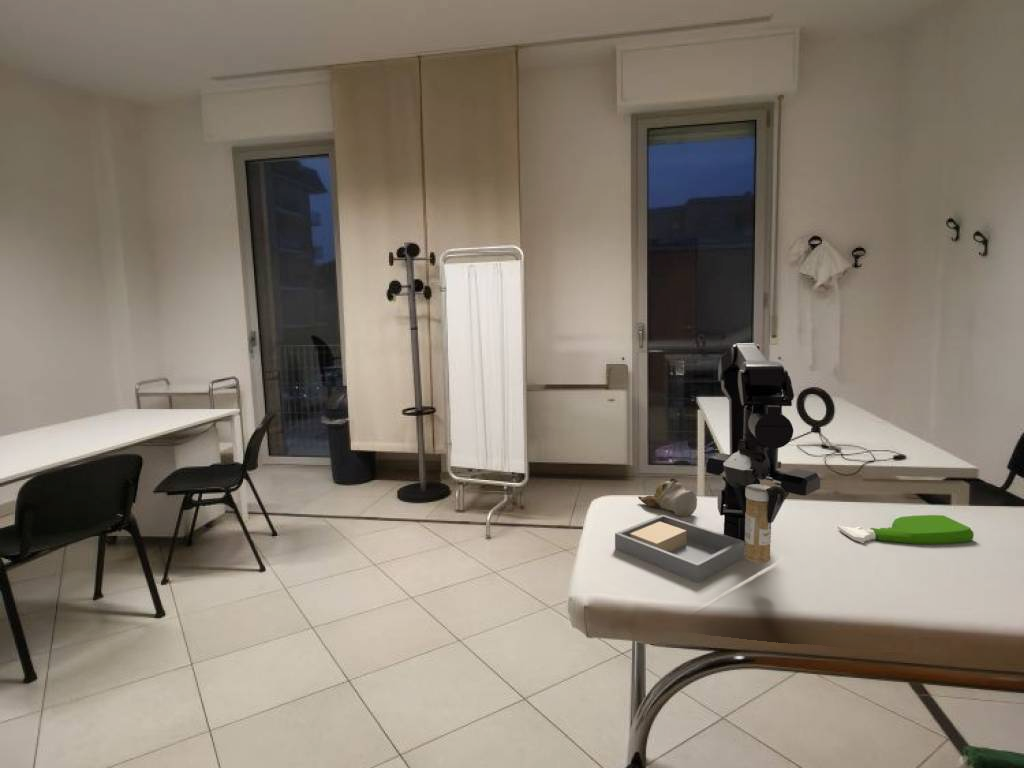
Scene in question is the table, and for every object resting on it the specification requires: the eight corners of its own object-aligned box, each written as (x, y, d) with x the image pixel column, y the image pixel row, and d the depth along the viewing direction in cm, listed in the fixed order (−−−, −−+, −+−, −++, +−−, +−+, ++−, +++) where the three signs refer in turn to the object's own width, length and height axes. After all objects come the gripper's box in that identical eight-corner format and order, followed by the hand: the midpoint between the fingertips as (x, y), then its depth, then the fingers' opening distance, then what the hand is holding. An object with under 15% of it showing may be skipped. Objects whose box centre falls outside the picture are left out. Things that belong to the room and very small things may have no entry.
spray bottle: (978, 544, 121) (863, 551, 121) (938, 524, 132) (832, 531, 132) (979, 531, 121) (863, 538, 120) (939, 512, 132) (833, 518, 131)
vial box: (659, 534, 129) (659, 521, 129) (686, 543, 124) (686, 530, 123) (630, 547, 123) (629, 533, 123) (656, 557, 118) (656, 543, 117)
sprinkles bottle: (772, 565, 103) (774, 492, 101) (744, 562, 104) (746, 490, 102) (769, 554, 107) (771, 484, 105) (742, 551, 109) (744, 482, 107)
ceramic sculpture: (675, 487, 135) (635, 475, 149) (676, 524, 136) (636, 508, 149) (709, 481, 140) (668, 469, 153) (710, 516, 140) (669, 501, 154)
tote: (662, 531, 132) (662, 514, 132) (744, 560, 117) (744, 541, 116) (615, 551, 123) (614, 533, 122) (697, 585, 107) (697, 565, 106)
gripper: (688, 433, 105) (687, 516, 107) (790, 452, 90) (787, 547, 92) (723, 423, 112) (721, 501, 114) (823, 440, 97) (819, 529, 99)
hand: (758, 518), depth 105 cm, fingers closed on sprinkles bottle, 4 cm apart
